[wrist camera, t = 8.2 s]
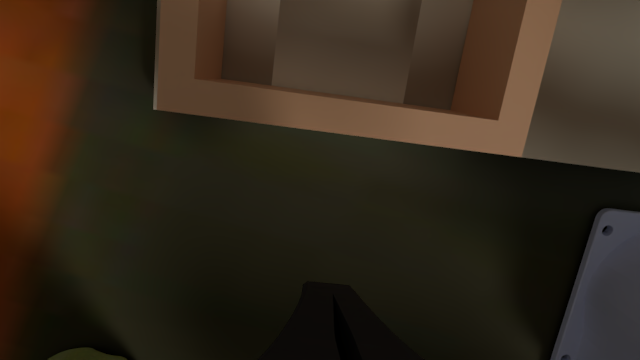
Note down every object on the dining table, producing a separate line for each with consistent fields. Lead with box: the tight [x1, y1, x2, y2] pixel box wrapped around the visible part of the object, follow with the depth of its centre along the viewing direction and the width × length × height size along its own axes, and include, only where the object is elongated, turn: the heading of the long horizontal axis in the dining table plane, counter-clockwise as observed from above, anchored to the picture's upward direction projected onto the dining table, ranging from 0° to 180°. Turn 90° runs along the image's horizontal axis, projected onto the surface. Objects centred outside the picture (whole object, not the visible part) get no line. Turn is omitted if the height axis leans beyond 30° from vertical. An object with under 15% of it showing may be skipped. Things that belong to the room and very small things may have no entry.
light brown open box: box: [157, 0, 562, 157], centre depth 13 cm, size 8×11×4 cm
